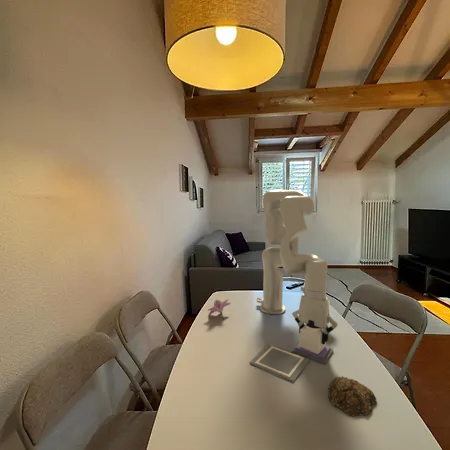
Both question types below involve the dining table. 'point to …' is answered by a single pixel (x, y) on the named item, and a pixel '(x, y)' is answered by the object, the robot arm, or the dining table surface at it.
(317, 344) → the medicine bottle
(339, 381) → the bread roll
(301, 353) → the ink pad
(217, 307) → the lily
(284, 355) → the marked mat
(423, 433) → the dining table surface
